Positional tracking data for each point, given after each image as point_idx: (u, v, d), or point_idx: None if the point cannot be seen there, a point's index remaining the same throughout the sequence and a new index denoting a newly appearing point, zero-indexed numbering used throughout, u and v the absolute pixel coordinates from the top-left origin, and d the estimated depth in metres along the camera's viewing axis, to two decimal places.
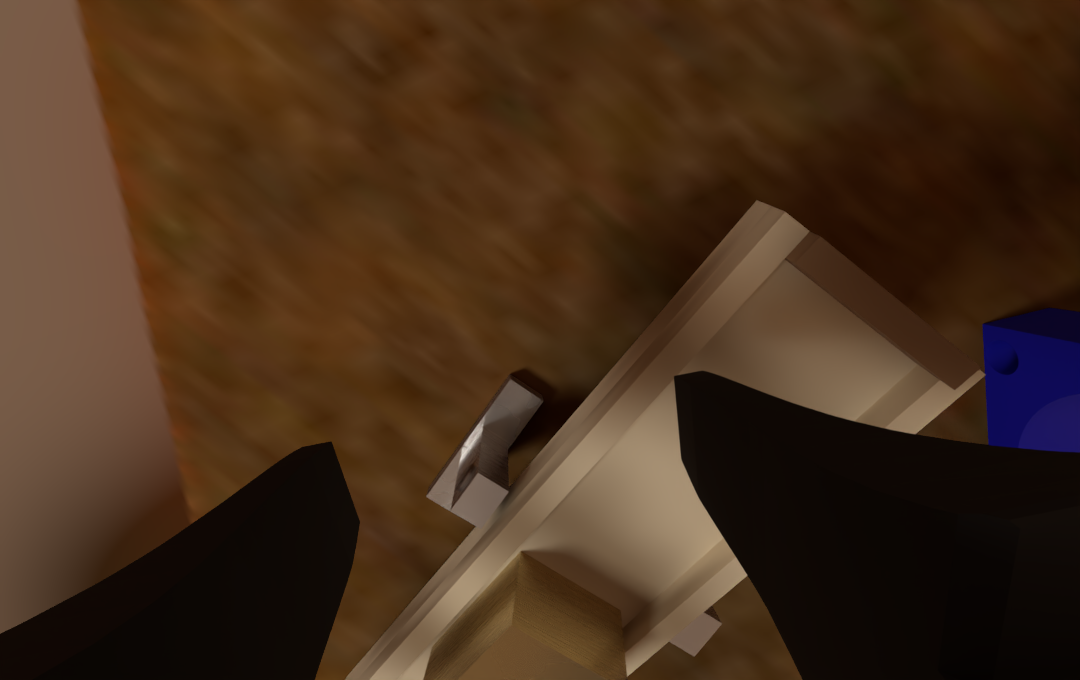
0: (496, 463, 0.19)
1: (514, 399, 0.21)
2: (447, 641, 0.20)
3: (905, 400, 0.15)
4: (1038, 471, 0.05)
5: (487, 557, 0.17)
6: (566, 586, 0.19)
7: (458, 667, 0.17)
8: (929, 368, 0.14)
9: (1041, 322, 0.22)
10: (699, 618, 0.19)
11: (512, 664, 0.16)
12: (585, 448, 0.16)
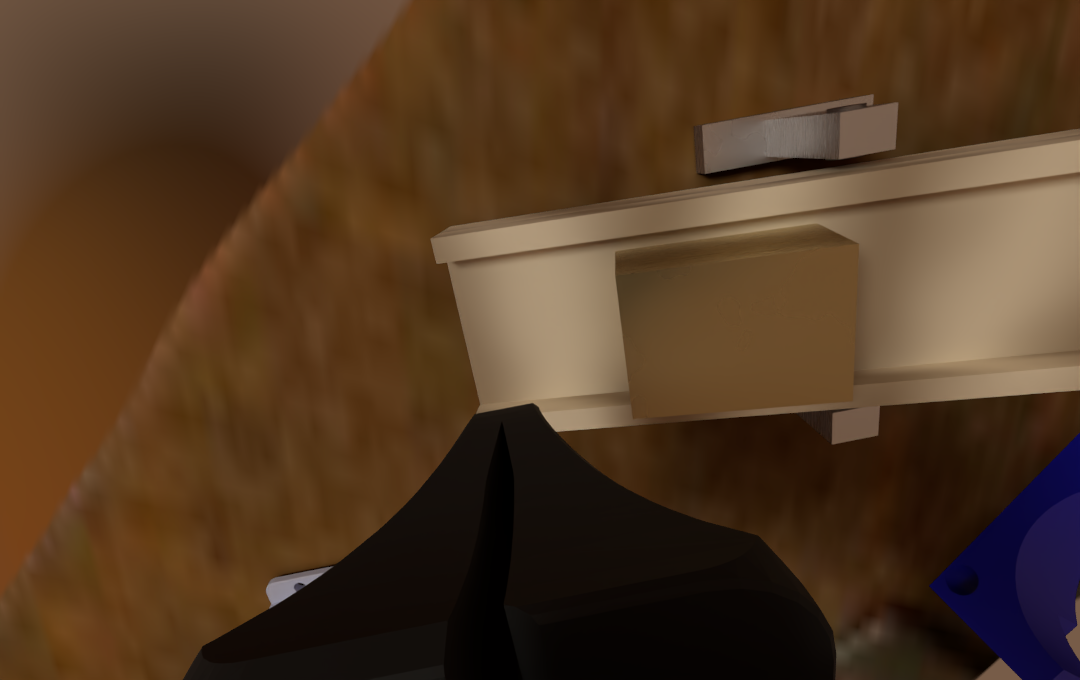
0: None
1: None
2: (662, 249, 0.16)
3: None
4: (651, 546, 0.05)
5: (826, 187, 0.15)
6: None
7: (722, 256, 0.14)
8: None
9: None
10: (871, 415, 0.18)
11: (802, 287, 0.14)
12: (1048, 154, 0.14)
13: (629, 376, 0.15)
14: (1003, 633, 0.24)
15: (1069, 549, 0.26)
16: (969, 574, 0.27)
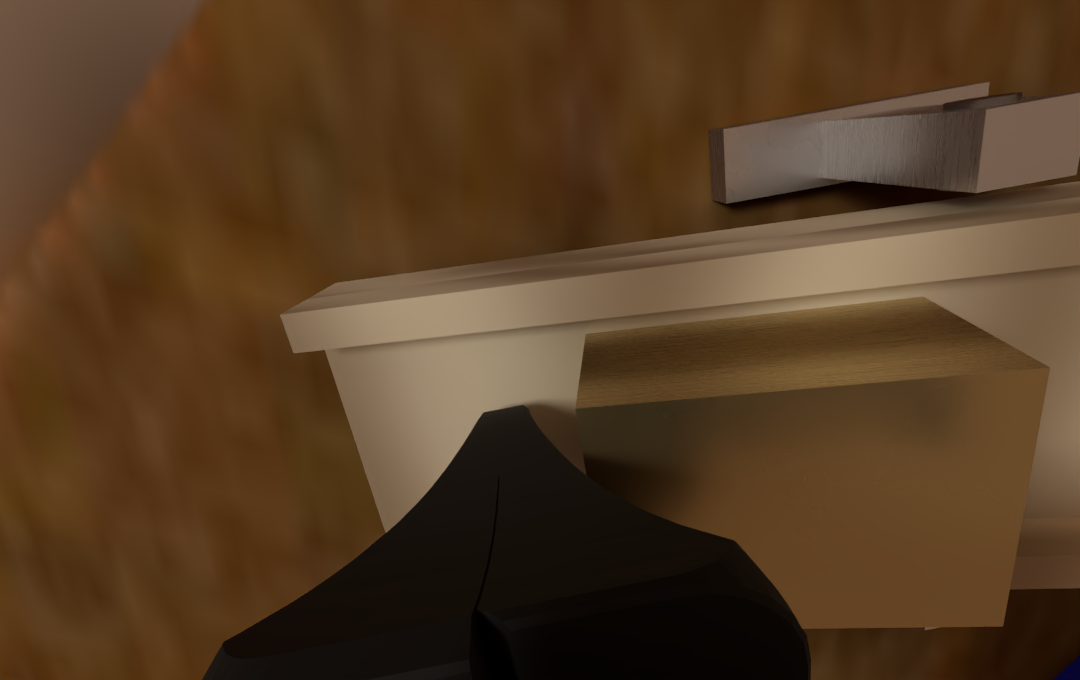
0: None
1: None
2: (661, 338, 0.10)
3: None
4: (627, 551, 0.05)
5: (954, 244, 0.08)
6: None
7: (772, 374, 0.08)
8: None
9: None
10: None
11: (927, 440, 0.07)
12: None
13: None
14: None
15: None
16: None
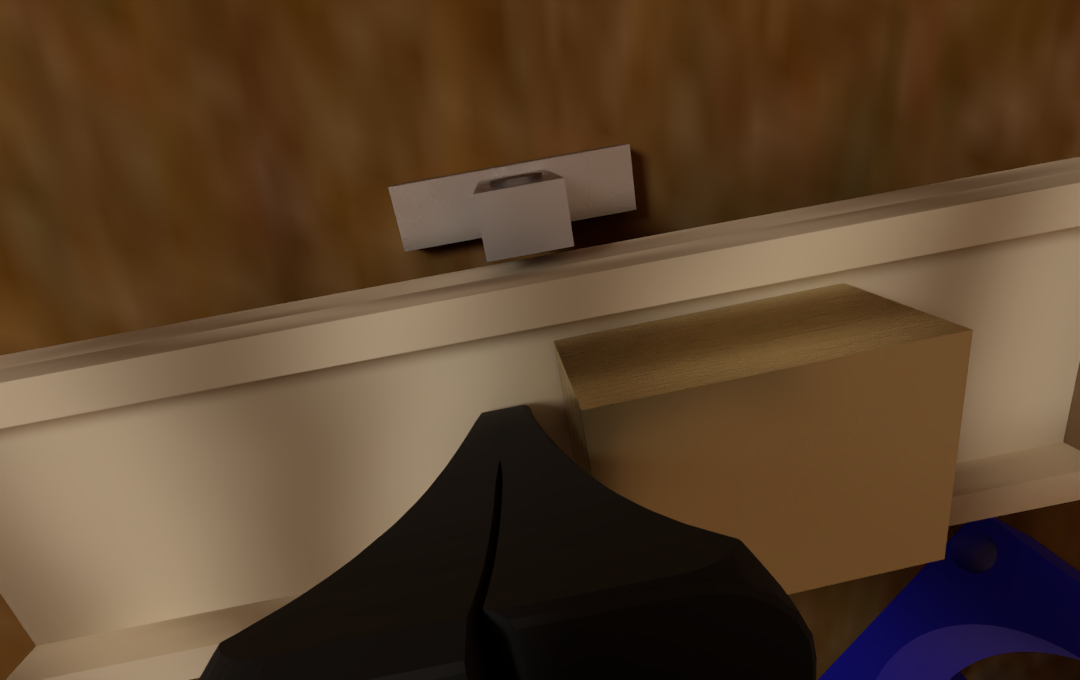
0: None
1: (609, 173, 0.13)
2: (632, 337, 0.10)
3: (1055, 467, 0.12)
4: (633, 551, 0.05)
5: (481, 307, 0.09)
6: None
7: (753, 358, 0.08)
8: None
9: (1036, 546, 0.18)
10: None
11: (886, 403, 0.08)
12: (776, 252, 0.09)
13: None
14: None
15: None
16: None
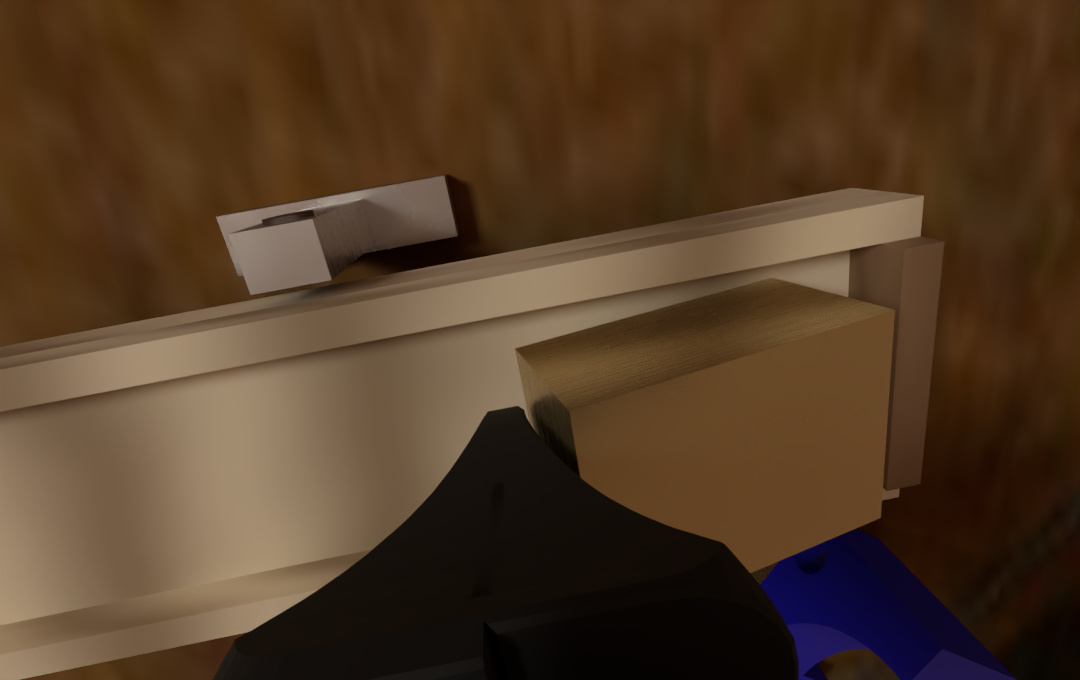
0: (344, 241, 0.12)
1: (428, 202, 0.14)
2: (594, 339, 0.10)
3: None
4: (616, 553, 0.05)
5: (238, 337, 0.10)
6: None
7: (717, 349, 0.09)
8: (890, 454, 0.12)
9: (867, 547, 0.19)
10: None
11: (830, 380, 0.09)
12: (512, 285, 0.10)
13: None
14: None
15: None
16: None
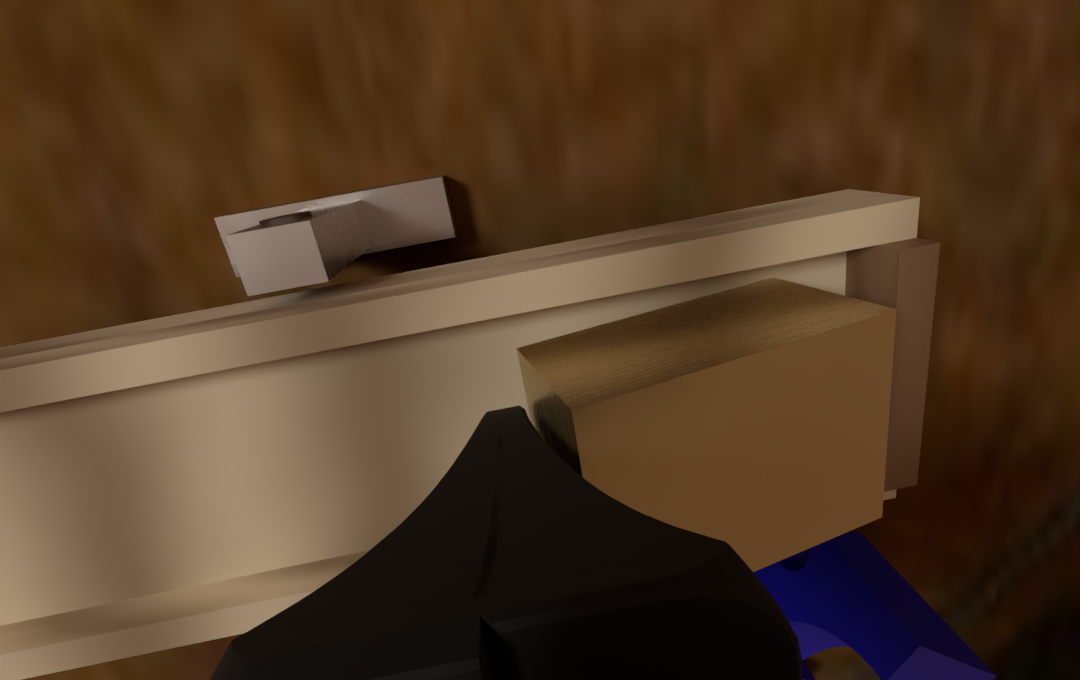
0: (341, 242, 0.12)
1: (425, 203, 0.14)
2: (596, 338, 0.10)
3: None
4: (620, 553, 0.05)
5: (235, 339, 0.10)
6: None
7: (719, 348, 0.09)
8: (887, 455, 0.12)
9: (850, 544, 0.19)
10: None
11: (833, 380, 0.09)
12: (508, 287, 0.10)
13: None
14: None
15: None
16: None
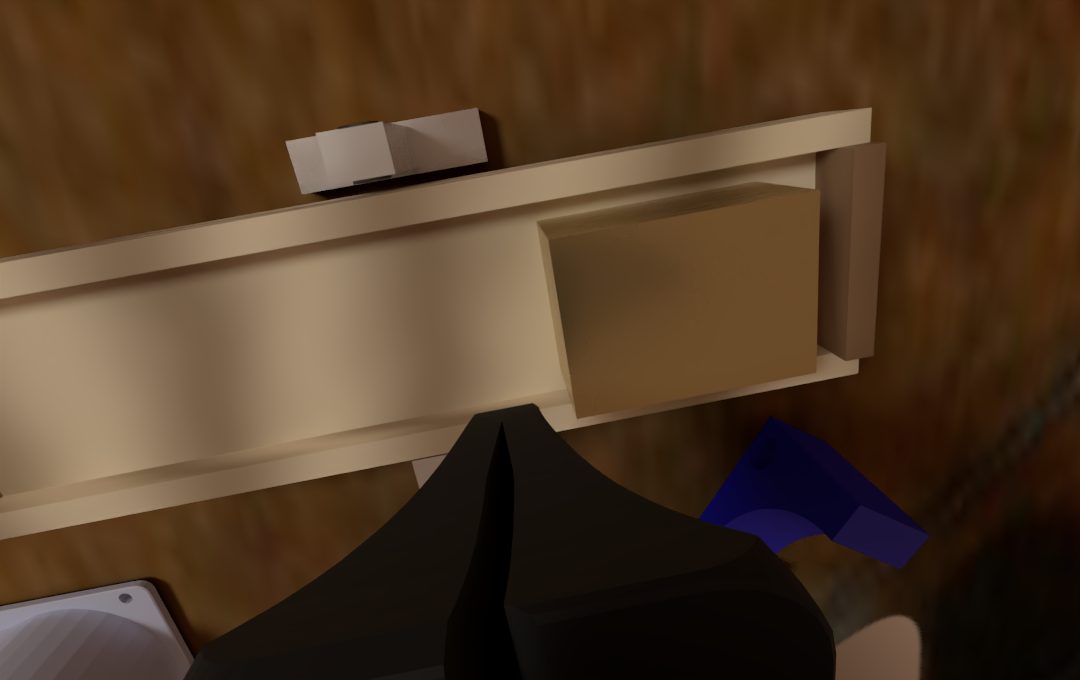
0: (400, 151, 0.14)
1: (463, 131, 0.17)
2: (592, 214, 0.14)
3: None
4: (651, 547, 0.05)
5: (322, 216, 0.13)
6: None
7: (670, 213, 0.12)
8: (848, 327, 0.14)
9: (812, 444, 0.21)
10: None
11: (761, 243, 0.12)
12: (540, 177, 0.13)
13: (570, 366, 0.12)
14: None
15: None
16: None
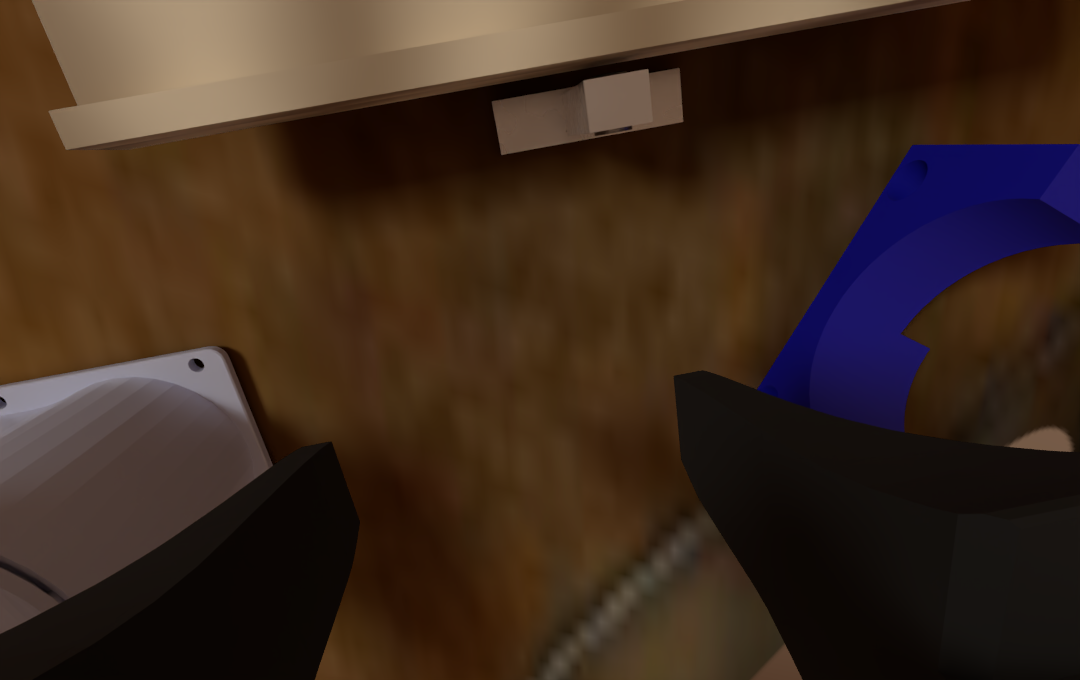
0: None
1: None
2: None
3: None
4: (1038, 469, 0.05)
5: None
6: None
7: None
8: None
9: None
10: (638, 87, 0.13)
11: None
12: None
13: None
14: None
15: (889, 347, 0.20)
16: None
